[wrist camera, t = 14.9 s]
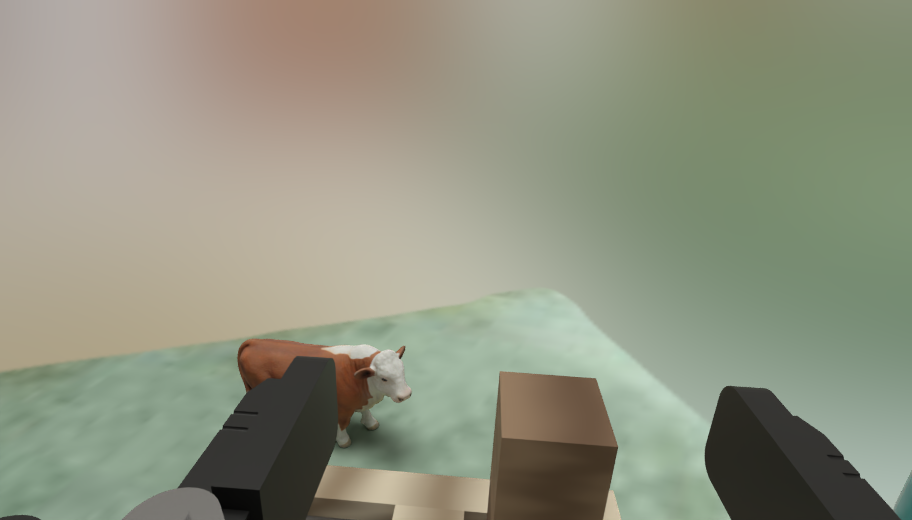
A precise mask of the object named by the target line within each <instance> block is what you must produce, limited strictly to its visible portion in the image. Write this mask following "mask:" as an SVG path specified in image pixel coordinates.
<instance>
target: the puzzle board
mask: <svg viewBox="0 0 912 520" xmlns="http://www.w3.org/2000/svg"><path fill="white" fill-rule="evenodd" d="M489 486H490V480H489V479H477V478H466V477H455V476H443V475H432V474H421V473H409V472H398V471H387V470H375V469H364V468H353V467H341V466H330V465H327V467H326V469H325V472H324V474H323V477H322V479H321V482H320V484H319V487H318V489H317V492H316V494H315V497H314V500H313V502H312V505H311V507H310V510H309V512H308V515H307V517H306V520H486V519H487V508H488V497H489ZM603 520H621V517H620V513H619V509H618V506H617V502H616V498H615V495H614V491H613V490H609V493H608V498H607V503H606V508H605V512H604V517H603Z"/></svg>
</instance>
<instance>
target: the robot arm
mask: <svg viewBox="0 0 912 520" xmlns="http://www.w3.org/2000/svg"><path fill="white" fill-rule="evenodd" d="M337 430H338V405H337V385H336V367H335V362H334V359H333V358H324V357H310V356H296V357H295V358H294V359H293V361H292V362H291V364H290V365H289V367H288V368H287V370H286V372H285V373H284V375H283V376H282V378H281V379H275V378H267V379H266V380H264V381H263V382H262V383H260V384H259V385H257V386H256V387H254V388H253V389H251V390H250V391H249V392H247V393H246V395H245V396H244V397H243V399H242V400H241V402H240V403H239V404H238V406H237V407H236V408H235V410H234V414H231V415H230V417H229V418H228V419H227V421H226V422H225V424H224V425H223V429H222V430H219V432H218V433H217V435H216V436H215V437H214V439H213V440H212V441H211V443H210V444H209V446H208V447H207V448H206V450H205V451H204V452H203V454H202V455H201V457H200V458H199V459H198V461H197V462H196V464H195V465H194V466H193V468H192V469H191V470H190V472H189V473H188V475H187V476H186V477H185V479H184V480H183V481H182V483H181V484H180V486H179V487H178V488H177V489H173V490H169V491H166V492H163V493H160V494H158V495H155V496H153V497H151V498H149V499H147V500H146V501H144V502H142V503H141V504H139V505H138V506H136V507H135V508H134V509H133V510H132V511H130V512H129V513H128V514H127V515H126V516H125V517H124V518H123V519H122V520H306V517H307V515H308V512H309V510H310V507H311V505H312V502H313V500H314V497H315V494H316V492H317V489H318V487H319V484H320V482H321V479H322V477H323V474H324V472H325V469H326V467H327V464H328V462H329V459H330V457H331V454H332V452H333V449H334V446H335V442H336V437H337ZM705 465H706V470H707V473H708V476H709V479H710V481H711V483H712V484H713V486H714V488H715V490H716V492H717V494H718V496H719V498H720V499H721V501H722V503H723V505H724V507H725V509H726V511H727V512H728V514H729V516H730V518H731V520H901V519H900V518H899V516H898V515H897V514H896V513H895V512H894V511H893V510H892V509H891V508H890V507H889V505H888V504H887V503H886V502H885V501H884V500H883V499H882V498H881V497H880V496H879V494H877V492H876V491H875V490H874V489H873V488H872V487H871V486H870V485H869V484H868V482H867V481H866V480H865V479H861V478H860V474H859V473H858V471H857V470H856V469H855V468H854V467H853V466H852V465H851V464H850V462H849V461H847V460H844V457H843V455H842V454H841V453H840V452H839V451H838V449H837V448H836V447H835V446H834V445H833V444H832V443H831V442H830V440H829V439H828V438H827V437H826V436H825V435H824V434H822V433H821V432H820V431H818V430H817V429H815V428H814V427H812V426H811V425H809V424H808V423H807V422H805V421H803V420H802V419H801V418H799V417H798V416H792V414H791V413H790V412H789V411H788V410H787V409H786V408H785V406H784V405H782V403H781V402H780V401H779V400H778V399H777V397H776V396H775V395H774V394H773V393H772V392H771V391H770V390H768V389H765V388H751V387H735V386H726V387H725V388H724V389H723V390H722V391H721V393H720V396H719V400H718V403H717V407H716V411H715V414H714V418H713V421H712V425H711V428H710V432H709V435H708V439H707V443H706V447H705ZM0 520H40V519H39V518H37V517H33V516H28V515H14V516H7V517H2V518H0Z"/></svg>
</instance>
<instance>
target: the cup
mask: <svg viewBox="0 0 912 520" xmlns="http://www.w3.org/2000/svg"><path fill="white" fill-rule="evenodd" d="M894 512H895V513H896V514H897V515H898V516H899V518H900V519H901V520H912V471H911V473H910V475H909V477H908V479H907V481H906V483H905V485H904V487H903V490H902V491H901V493H900V496H899V498H898V500H897V502H896V504H895V507H894Z"/></svg>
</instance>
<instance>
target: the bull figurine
mask: <svg viewBox="0 0 912 520" xmlns="http://www.w3.org/2000/svg"><path fill="white" fill-rule="evenodd" d="M404 351H405V346H402V347H401V348H400V349H399V350H398V351H397V352H394V351H392V350H389V349H388V350H385V351H382V352H381V351H379V350H378V349H376V348H374V347H372V346H369V345H364V344H361V345H357V346H350V345H339V346H323V345H313V344H304V343H299V342H294V341H286V340H274V339H249V340H247V341H245V342H244V343H243V344H242V345H241V346H240V348H239V351H238V357H237V359H238V367H239V371H240V374H241V377H242V379H243V382H244V385H245V388H246V393H247V392H249V391H250V390H251V389H253V388H254V387H256V386H257V385H259V384H260V383H262V382H263V381H264V380H266V379H267V378H275V379H281V378H282V376H283V375H284V373H285V372H286V370H287V368H288V367H289V365H290V364H291V362H292V361H293V359H294V358H295V357H296V356H310V357H324V358H333V359H334V362H335V367H336V385H337V405H338V430H337V437H336V440H337V442H338V445H339V446H340V447H342V448H345V447H348V446H350V445H351V440H350V438H349V435H348V434H347V432H346V427H347V426H348V425H349V423H350V418H351V416H352V415H353V413H354V412H361V414H362V419H361V423H362V424H364V425H365V426H366V428H367V429H368V430H374V429H376V428H378V426H379V423H378V421H377V420H376V419H375V418H374V417H373V416H372V414H371V413H370V411H369V409H370V408H372V407H373V406H374V405H375V404H377V403H379V402H380V401H382V400H383V398H384V395H386V396H388V397H391V399H392V400H393V401H394V402H396V403H400V402H402V401H404V400H406V399H408V398H410V396H411V392H412V391H411V388H410V387H408V386H407V384H406V381H405V374H404V365H403V362H402V360H400V359H401V357H402V355H403V353H404Z"/></svg>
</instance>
